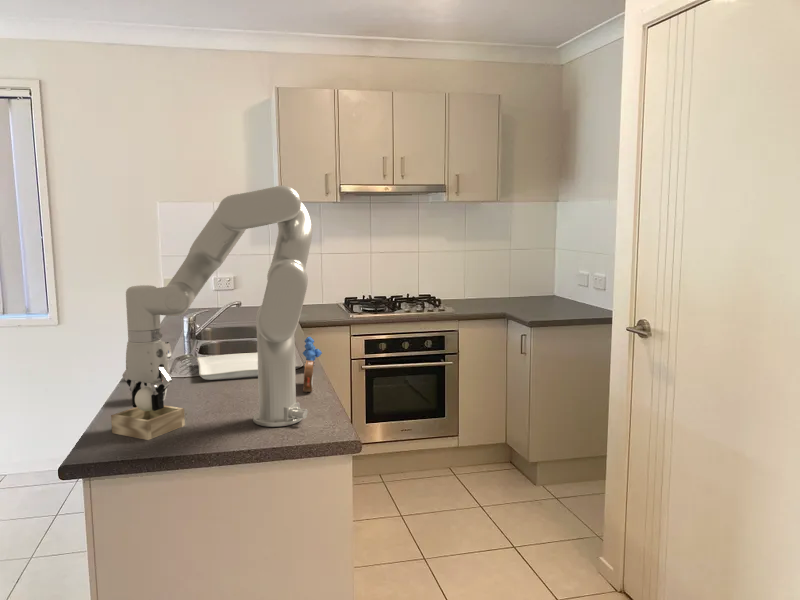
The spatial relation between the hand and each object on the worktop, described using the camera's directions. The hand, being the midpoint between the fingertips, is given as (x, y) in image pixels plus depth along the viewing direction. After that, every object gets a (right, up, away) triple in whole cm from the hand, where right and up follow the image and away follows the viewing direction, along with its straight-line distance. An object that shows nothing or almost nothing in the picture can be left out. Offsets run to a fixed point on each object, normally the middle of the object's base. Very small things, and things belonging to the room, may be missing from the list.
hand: (148, 407), depth 162 cm
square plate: (+7, +1, +63) cm, 64 cm away
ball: (0, +2, 0) cm, 2 cm away
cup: (-8, -3, +26) cm, 28 cm away
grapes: (+32, +2, +65) cm, 72 cm away
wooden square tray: (0, -6, +1) cm, 6 cm away
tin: (+34, -1, +39) cm, 52 cm away
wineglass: (-15, 0, +52) cm, 54 cm away
